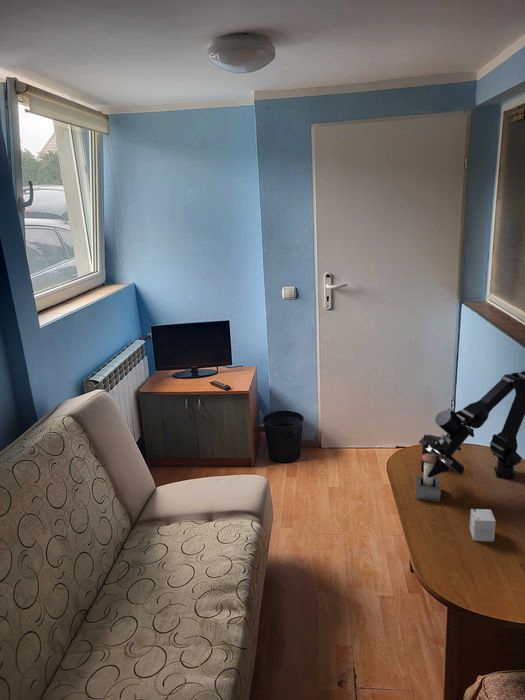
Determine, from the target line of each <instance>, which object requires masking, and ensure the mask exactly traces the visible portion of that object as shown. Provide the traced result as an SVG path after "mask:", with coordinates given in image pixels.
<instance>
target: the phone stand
mask: <svg viewBox="0 0 525 700" xmlns="http://www.w3.org/2000/svg"><path fill="white" fill-rule="evenodd" d="M428 435H429V434H424V435H423V437H422V438H426V439H427V437H428ZM438 437H439V438H440V437H441V436H438ZM424 448H425V447H424V446H422V453H421V454H422V455H421V457H422V456H423V455H424V454H426V452H425V450H424ZM425 449H426V448H425ZM439 453H440V452H439ZM436 458H438V459H440V460H441V458H440V457H439V456H438V455H437V456H436ZM423 463H424V462H423V460H422V459H421V463H420V465H421V466H420V470H421V469H422V466H423ZM436 463H437V462H435V463H434V466H435V465H436Z"/></svg>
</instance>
